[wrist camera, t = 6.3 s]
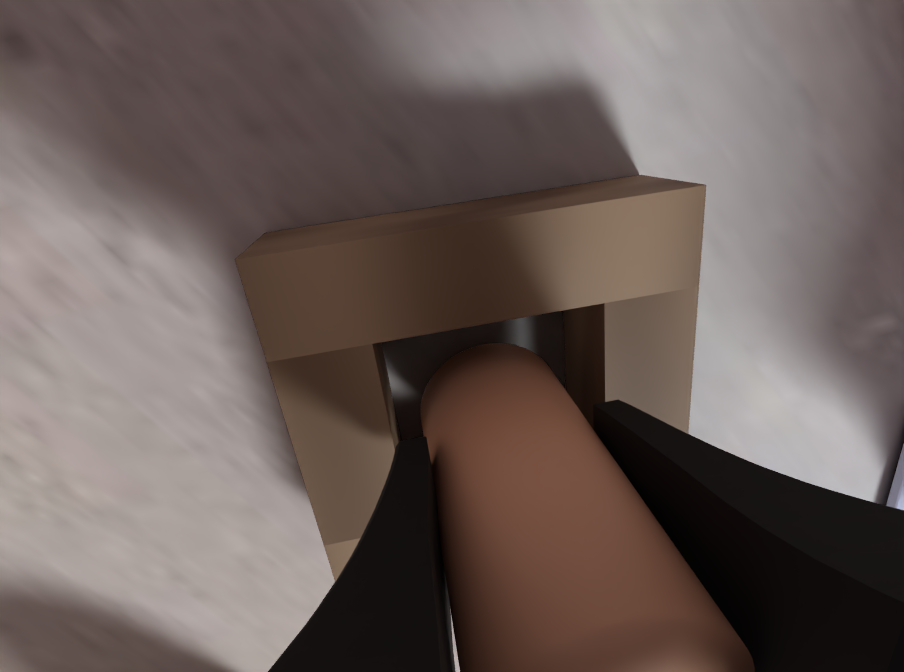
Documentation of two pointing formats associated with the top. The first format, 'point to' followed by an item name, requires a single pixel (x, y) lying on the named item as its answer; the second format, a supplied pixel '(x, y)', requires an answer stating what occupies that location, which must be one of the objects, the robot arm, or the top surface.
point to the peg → (554, 535)
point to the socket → (471, 314)
